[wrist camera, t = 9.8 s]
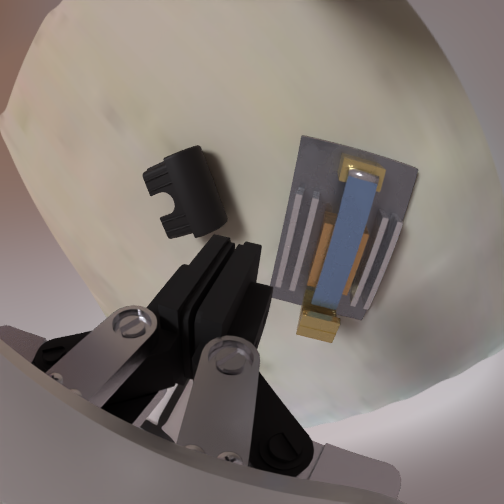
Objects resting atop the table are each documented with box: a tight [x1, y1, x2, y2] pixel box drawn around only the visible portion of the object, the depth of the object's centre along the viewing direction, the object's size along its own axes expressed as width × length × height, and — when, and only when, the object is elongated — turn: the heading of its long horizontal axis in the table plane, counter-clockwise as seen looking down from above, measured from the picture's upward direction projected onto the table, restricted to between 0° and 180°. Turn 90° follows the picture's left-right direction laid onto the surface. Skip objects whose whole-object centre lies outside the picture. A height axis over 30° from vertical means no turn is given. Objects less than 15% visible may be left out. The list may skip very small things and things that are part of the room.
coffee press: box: [139, 379, 193, 443], centre depth 41 cm, size 17×16×30 cm
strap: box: [311, 167, 379, 310], centre depth 29 cm, size 16×3×1 cm, turn 171°
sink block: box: [270, 135, 418, 343], centre depth 32 cm, size 22×14×9 cm, turn 171°
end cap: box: [143, 145, 228, 239], centre depth 35 cm, size 10×7×7 cm
